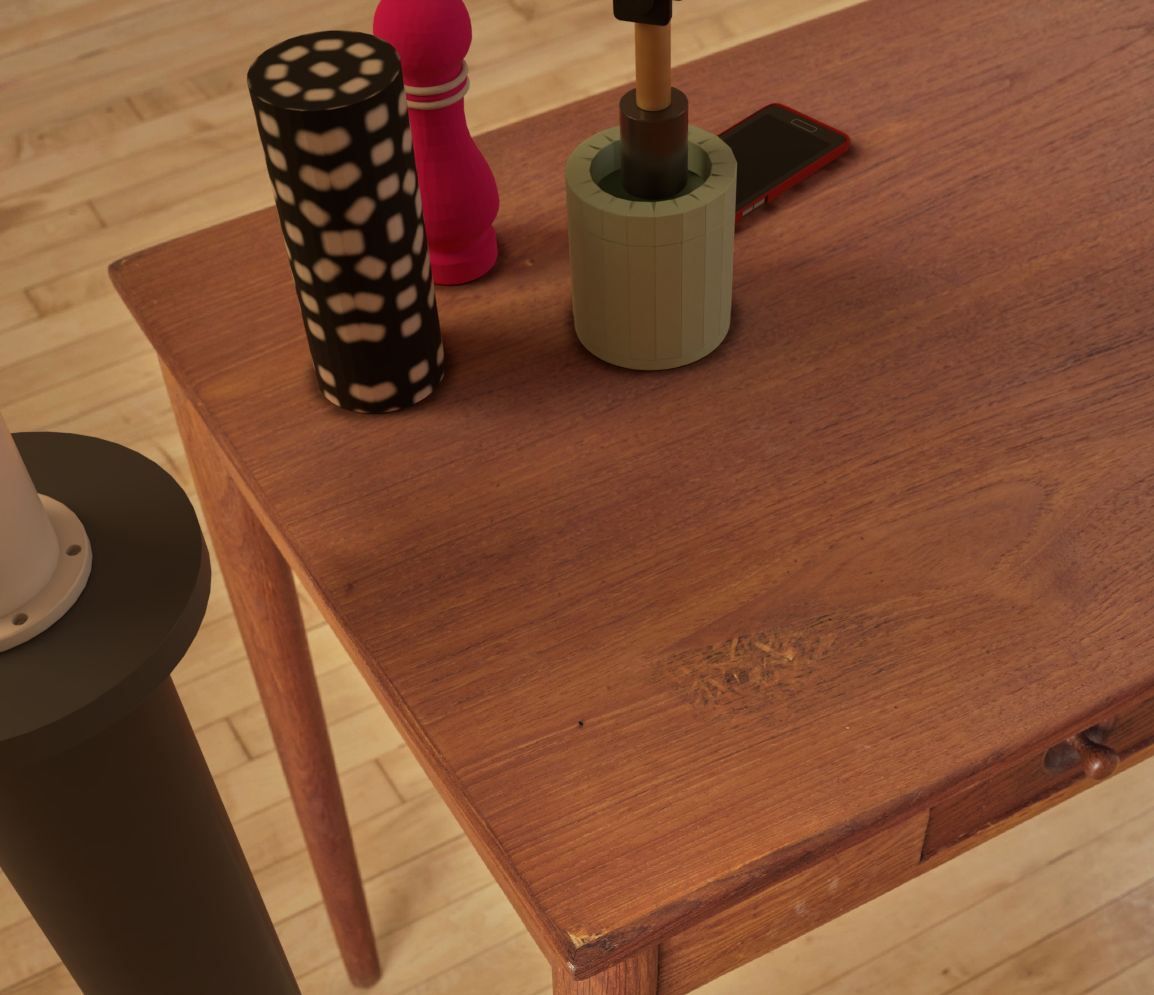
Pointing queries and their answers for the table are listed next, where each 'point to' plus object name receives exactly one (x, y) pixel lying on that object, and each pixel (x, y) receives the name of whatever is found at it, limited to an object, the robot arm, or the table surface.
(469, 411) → the table surface
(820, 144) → the cell phone
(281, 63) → the white-spotted black cylinder
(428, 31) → the pepper mill
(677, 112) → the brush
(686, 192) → the jar
